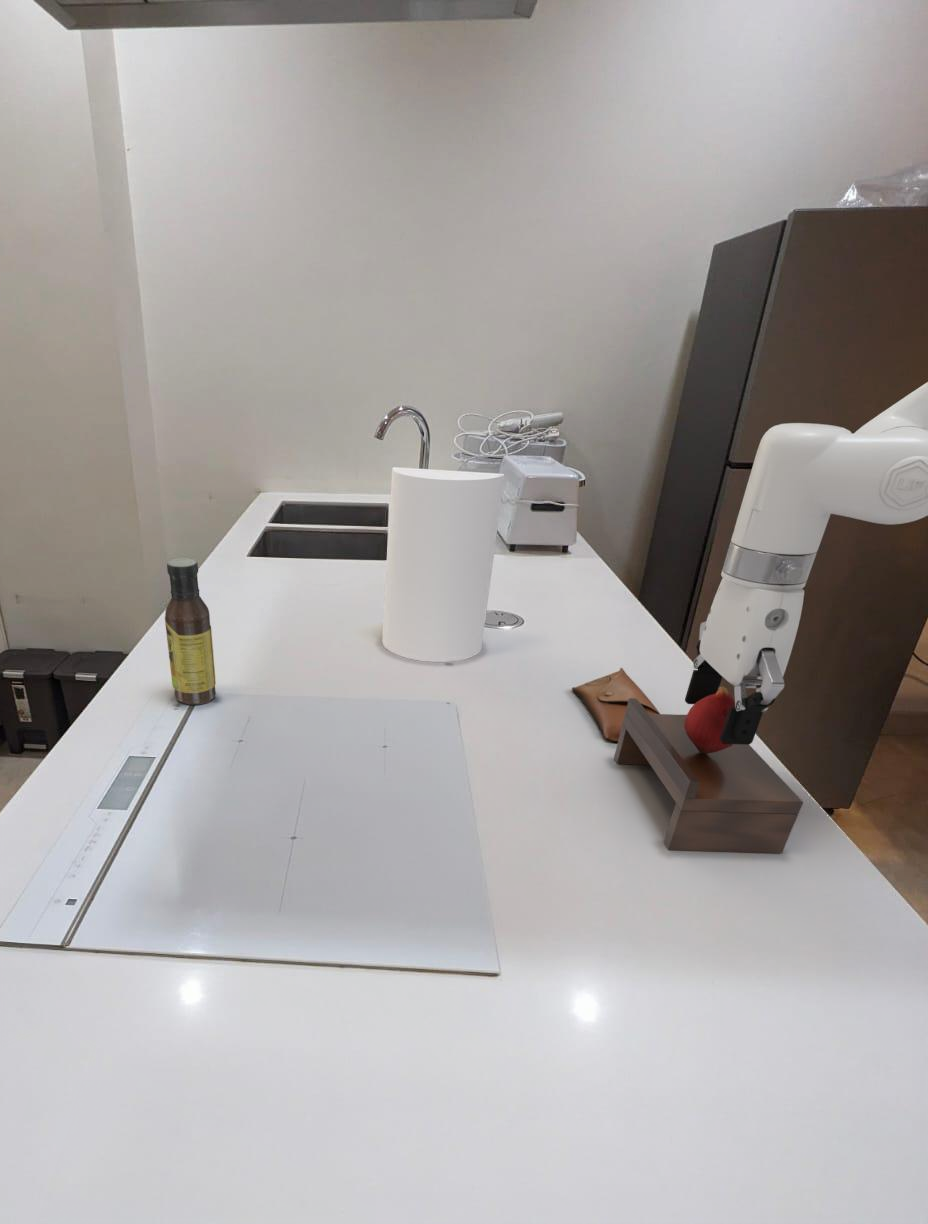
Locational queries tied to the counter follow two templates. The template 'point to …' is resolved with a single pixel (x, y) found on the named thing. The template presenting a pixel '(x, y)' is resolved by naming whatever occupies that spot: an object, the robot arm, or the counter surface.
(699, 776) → the shelf
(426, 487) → the cylinder
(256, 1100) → the counter surface
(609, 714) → the sunglasses case
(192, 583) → the sauce bottle
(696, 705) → the onion
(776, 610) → the robot arm
